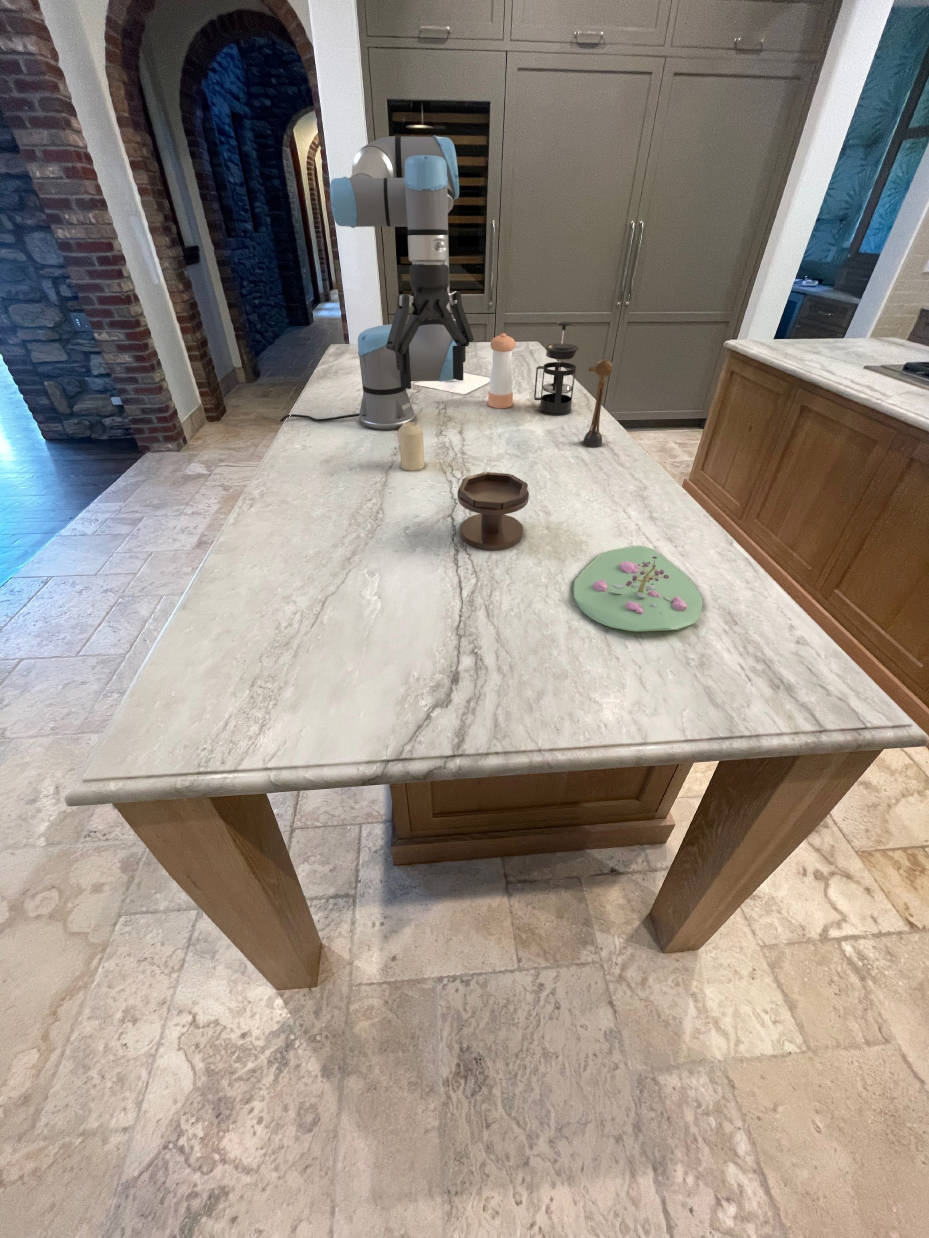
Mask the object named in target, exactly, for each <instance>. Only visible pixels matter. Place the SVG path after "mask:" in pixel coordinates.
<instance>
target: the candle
mask: <svg viewBox="0 0 929 1238" xmlns="http://www.w3.org/2000/svg"><path fill="white" fill-rule="evenodd" d="M397 430H398V442H399V457H400V467H401V468H402V470H405V471H412V472H413V471H414V472H415V471H419V470H422V469H423V468H424V467H425V445H424V429H423V428H422V427H421V426H420V425H419V424H418V423H417V422H415V421H414V422H407V423H403V425H402V426H401V427H400V428H399V429H397Z"/></svg>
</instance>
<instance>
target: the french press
mask: <svg viewBox="0 0 929 1238" xmlns="http://www.w3.org/2000/svg"><path fill="white" fill-rule="evenodd" d="M556 325H558V326H562V327H561V331H562V335H561V342H560V343H559V342H558V343H557V342H556V343H555V342H554V343H549V344H546V345H545V346H544V348H545V350H546V352H545V353H546V357H547V358H549V359H552V360H559V361H552V362H551V361H550V362H547V363H544V364H543V365H537V366H536V368H535V381H534V394H533V399H534V401H540V403H539V407H538V411H539V412H541V413H542V414H545V415H548V416H566V415H568V414H570V413H572V402H573V393H574V387H575V386H574V385H575V378H576V372H577V370H576V369H577V366H576V365H575V364H573V363H570V362H564V361H562V360H571V359H573V358H574V356H575V355H576V353H577V351H578V350H579V346H577V345H575V344H571V343H564V337H565V331H566V330H567V329H566V327H567V326H572V325H573V323H572V322H571V321H567V320H563V321H562V320H561V321H557V322H556ZM551 368H554V369H551ZM562 368H563V369H564V368H565V369H568V370H562ZM539 370H542V380H541V391H540V396H539V397H538V396H537V387H538V386H537V384H538V373H539ZM545 374H547V375H550V376H553V382H548V383H545V384H544V382H545V381H544V380H545ZM572 375H573V376H572ZM565 376H566V377H567V376H572V384H571V385H570V384H567V383H564V377H565ZM543 392H547V393H545V394H543ZM568 393H570V395H567V394H568Z"/></svg>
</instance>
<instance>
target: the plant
mask: <svg viewBox="0 0 929 1238" xmlns="http://www.w3.org/2000/svg"><path fill="white" fill-rule="evenodd" d="M572 587H573V588H572V589H573V598H574V600H575V602H576V603H577V605H578V607H579V608H580V610H581V611H582V612H583V613H584V615H586V616H587V617H588V618H590V619H591V620H593V621H595V622H596V623H599V624H601V625H604V626H606V627H609V628H612V629H618V630H621V631H622V630H624V631H629V632H659V631H678V630H681V629H684V628H687V627H690V626H692V625H694V624H696V622H698V620H699V618H700V616H701V614H702V613H701V612H702V609H703V605H704V604H703V597H702V595H701V594H700V592H699V590H698V588H696V586H695V585H694V584H693V582H692V581H691V580H690V578H689V577H688V576H687V574H685V573H684V572H683V571H682V570H681V569H680V568H679V567H677V566H676V565H674V564H673V563H672V562H671V561H669V560H668V559H667V558H666V557H664V556H663V555H662V554H660V553H659V552H658V551H656V550H655V549H653V548H650V547H647V546H643V545H637V546H636V545H635V546H628V547H621V548H616V549H611V550H608V551H605V552H602V553H600V554H599V555H597V556H596V557H595V558H594V559H593V560H592V561H590V563H589V564H588V565H586V567H584V568H583V570H582V571H580V573H579V574H578V575H577V576H576V577H575V580H574V582H573V586H572Z"/></svg>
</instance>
